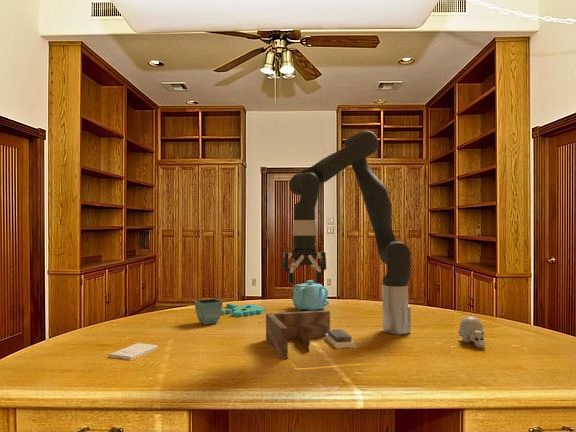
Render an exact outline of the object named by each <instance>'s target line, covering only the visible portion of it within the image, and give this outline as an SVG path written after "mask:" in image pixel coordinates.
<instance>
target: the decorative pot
mask: <svg viewBox="0 0 576 432" xmlns="http://www.w3.org/2000/svg"><path fill="white" fill-rule="evenodd" d="M292 293H293V296H292V298H291V300H292V305H293V306H294V308H296V309H297V310H298V311H304V310H306V311H321V310H323V309H324V308H325V307H326V306H328V305H329V304H330V302H329V300H328V295H329V289H328V288H327V287H326V286H323V284H321V283H319V284H316V283H315V282H314V280H313V279H309V280H306V282H305V283H300V284H298V283H297V284H295V285H293V287H292Z"/></svg>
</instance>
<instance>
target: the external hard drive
mask: <svg viewBox="0 0 576 432" xmlns="http://www.w3.org/2000/svg"><path fill="white" fill-rule="evenodd" d="M158 347H159V346H158V345H157V344H152V343H151V344H150V343H141V342H137V343H134V344H131V345H129V346H127V347H124V348H122V349H120V350H117V351H114V352H112V353H109V354H108V358H112V359H113V358H114V359H121V360H127V359H128V361H132V360H134V358H135V359H136V357H137V358H139V357H141V356H143V354H144V355H146V354H149V353H151V352H152V351H153V352H154V351H155V350H157V348H158Z"/></svg>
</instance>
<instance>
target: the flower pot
mask: <svg viewBox="0 0 576 432" xmlns="http://www.w3.org/2000/svg"><path fill="white" fill-rule="evenodd" d="M223 302H224V301H222V300H220V299H216V298H208V299H207V298H206V299H197V300H196V299H195V300H194V306H195V314H196V318H197V319H198V321H199V323H200V324H202V325H205V326H207V325H215V324H217V323H218V322H219V321H220V318H221V316H222V315H221V312H222V310H223Z"/></svg>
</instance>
